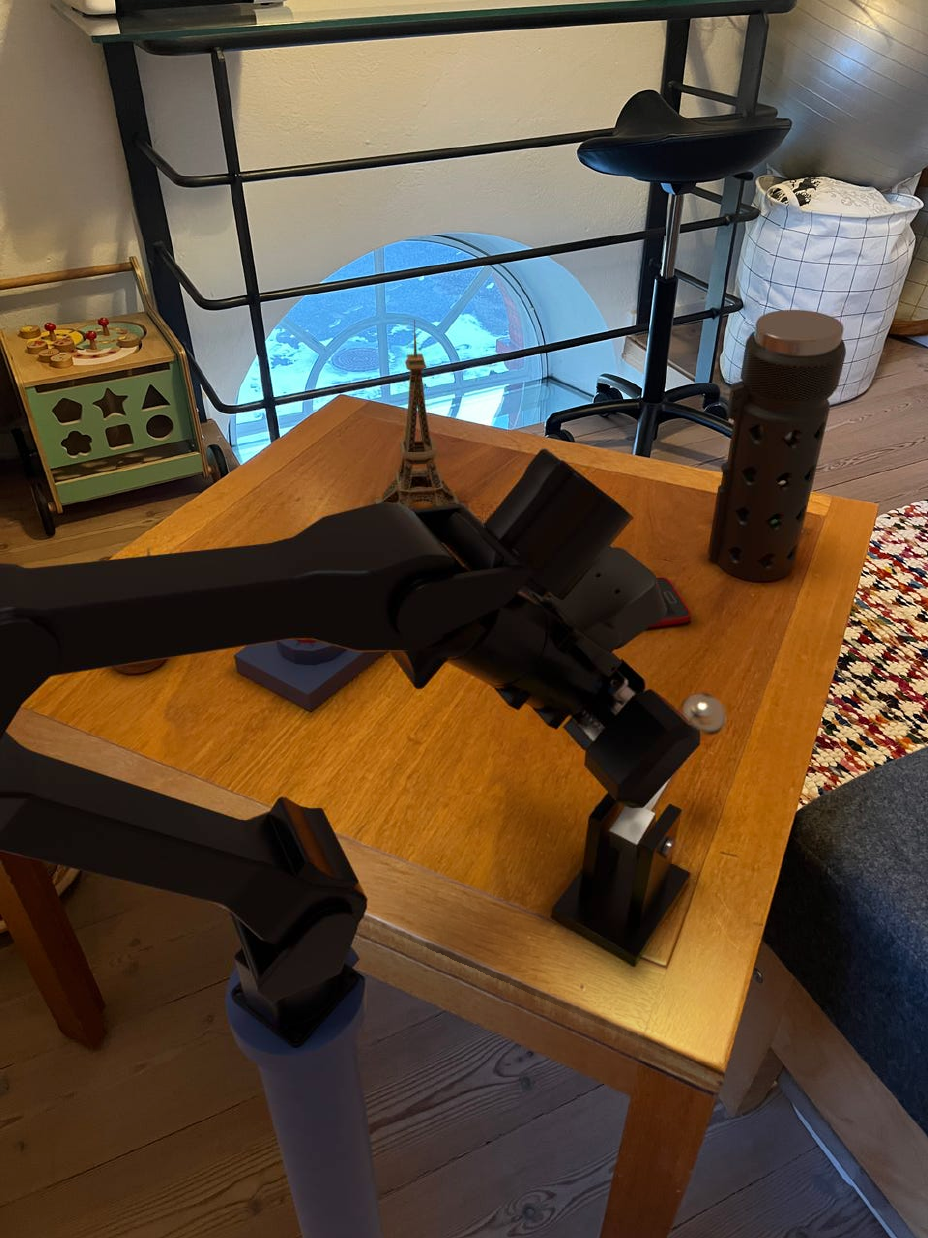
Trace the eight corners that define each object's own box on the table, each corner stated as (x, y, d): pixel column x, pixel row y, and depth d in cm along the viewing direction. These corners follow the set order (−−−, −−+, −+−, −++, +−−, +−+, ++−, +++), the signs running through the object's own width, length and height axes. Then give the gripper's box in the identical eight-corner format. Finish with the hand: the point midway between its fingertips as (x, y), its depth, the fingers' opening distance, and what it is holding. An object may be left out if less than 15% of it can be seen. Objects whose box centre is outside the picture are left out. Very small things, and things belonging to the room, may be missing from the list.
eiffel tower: (381, 544, 109) (369, 339, 94) (375, 501, 118) (362, 306, 103) (468, 538, 111) (469, 334, 96) (456, 495, 119) (455, 302, 104)
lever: (689, 703, 73) (691, 676, 70) (732, 722, 71) (735, 695, 68) (601, 845, 66) (599, 821, 63) (646, 869, 64) (646, 845, 61)
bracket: (608, 840, 74) (621, 753, 68) (688, 882, 70) (709, 795, 65) (550, 918, 68) (558, 830, 62) (634, 968, 65) (652, 881, 59)
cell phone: (693, 623, 97) (694, 616, 96) (559, 640, 94) (559, 632, 94) (666, 583, 103) (667, 575, 102) (539, 597, 100) (540, 590, 100)
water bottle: (713, 585, 103) (806, 582, 103) (753, 345, 85) (865, 341, 85) (697, 537, 110) (784, 535, 110) (731, 308, 93) (834, 304, 93)
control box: (310, 712, 86) (306, 679, 83) (236, 672, 90) (230, 640, 88) (391, 647, 94) (390, 616, 91) (320, 613, 98) (316, 583, 96)
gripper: (700, 620, 47) (810, 710, 57) (514, 469, 60) (632, 566, 71) (560, 780, 48) (693, 839, 59) (409, 600, 62) (540, 675, 72)
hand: (637, 717), depth 65 cm, fingers closed
